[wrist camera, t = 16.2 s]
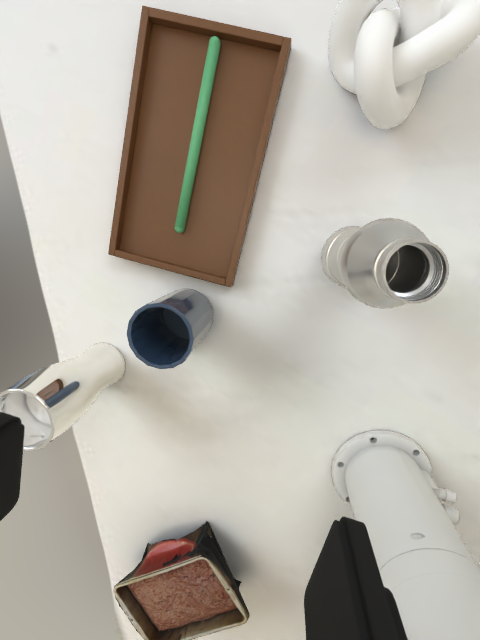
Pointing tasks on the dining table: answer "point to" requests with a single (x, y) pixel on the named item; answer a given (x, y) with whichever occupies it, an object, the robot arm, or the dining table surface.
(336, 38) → the white decorative knot
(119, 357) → the beer glass
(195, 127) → the straw
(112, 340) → the dining table surface
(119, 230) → the tray
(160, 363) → the tumbler
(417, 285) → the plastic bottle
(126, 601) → the baking dish
